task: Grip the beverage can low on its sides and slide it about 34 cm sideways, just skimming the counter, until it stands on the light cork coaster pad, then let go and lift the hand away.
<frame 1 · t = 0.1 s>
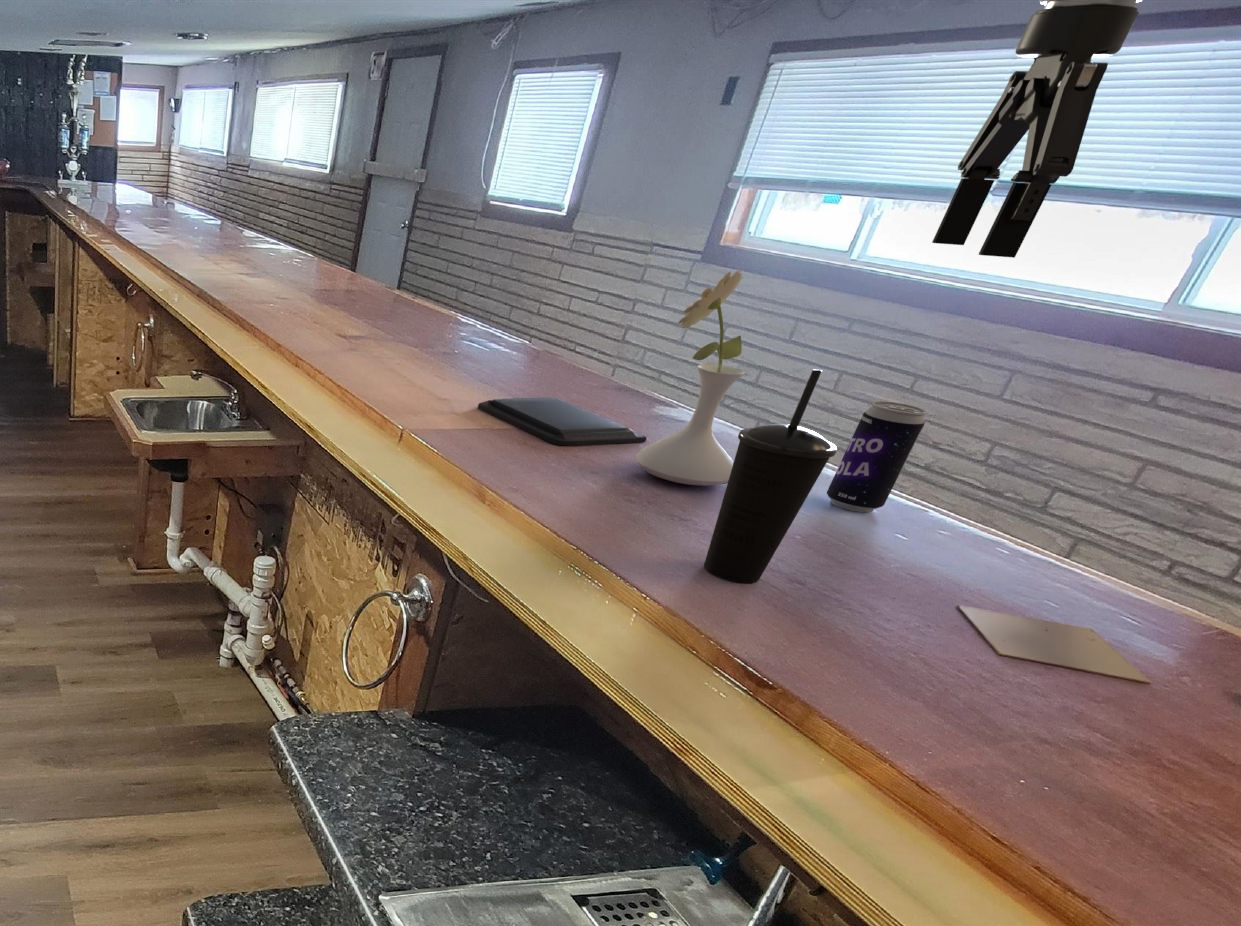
hand: (970, 250, 94), 28 cm above the counter, tool pointing down, fingers open, 13 cm apart
beverage can: (850, 507, 107), on the counter
drinking cup: (730, 574, 89), on the counter
cork pad: (1046, 642, 78), on the counter
flower in vase: (674, 480, 113), on the counter
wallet: (556, 425, 133), on the counter
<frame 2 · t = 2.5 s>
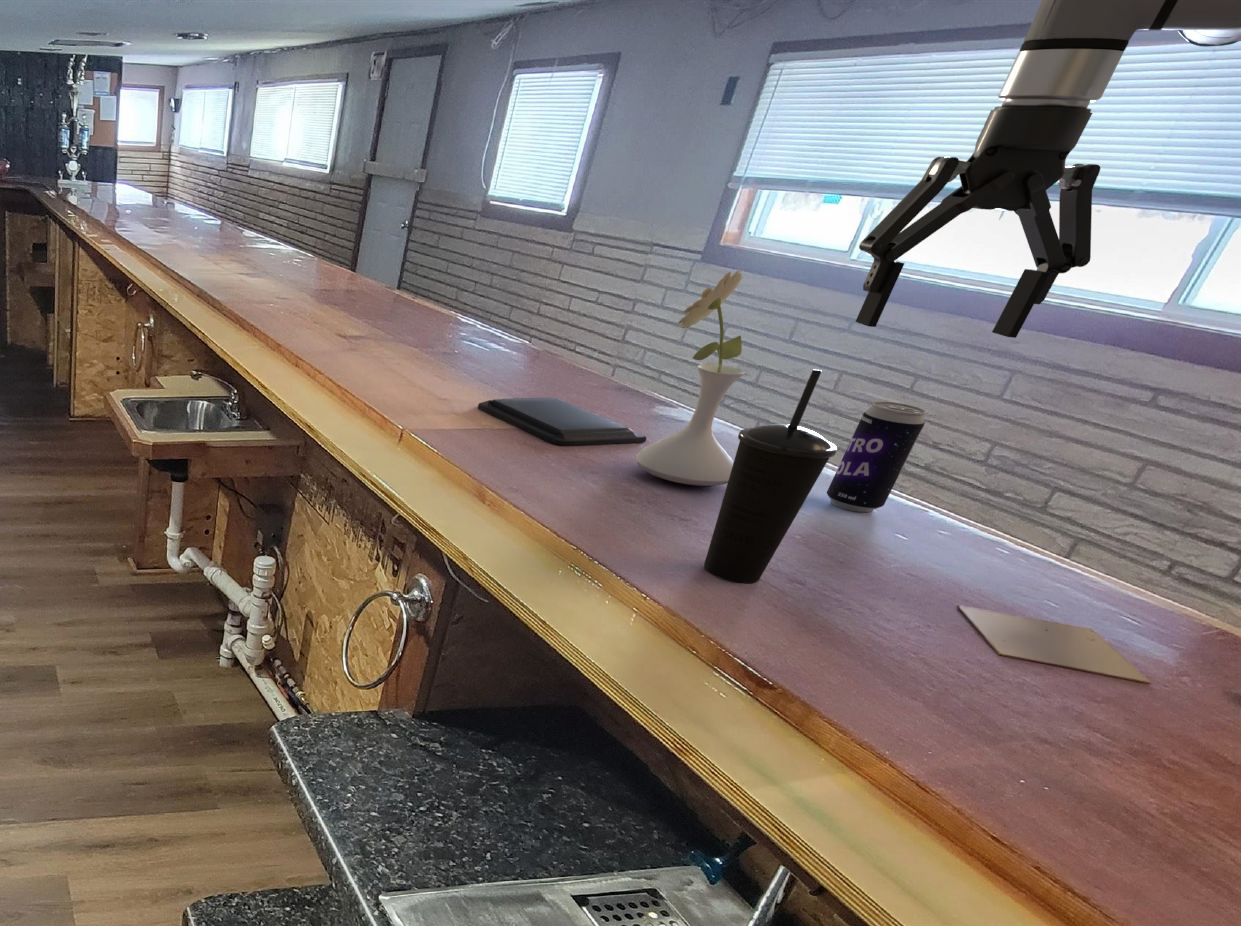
hand: (933, 330, 97), 20 cm above the counter, tool pointing down, fingers open, 13 cm apart
nothing on the counter moved.
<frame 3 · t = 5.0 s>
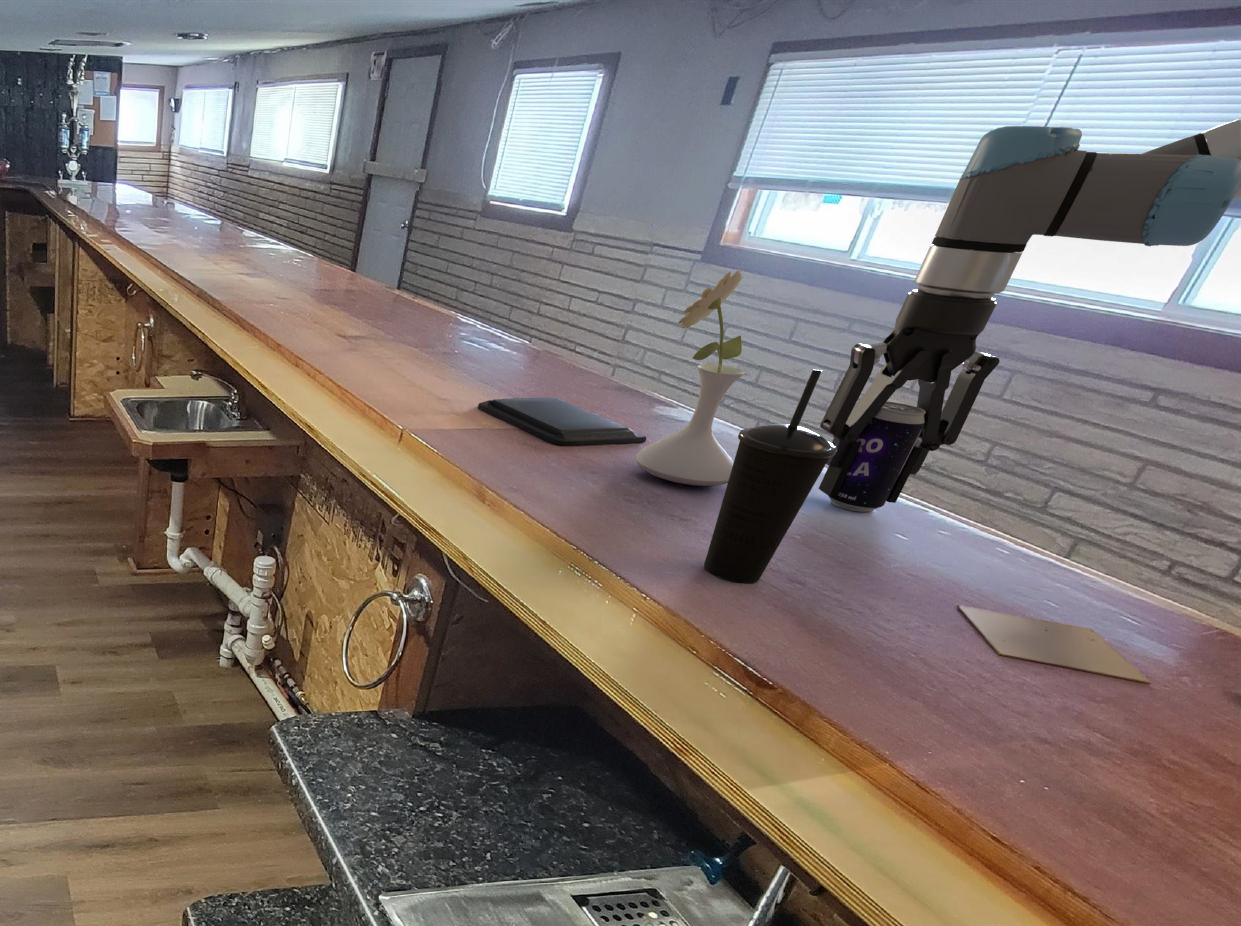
hand: (856, 495, 106), 1 cm above the counter, tool pointing down, fingers closed on beverage can, 6 cm apart
beverage can: (850, 507, 107), on the counter, touching gripper
everything else where it was.
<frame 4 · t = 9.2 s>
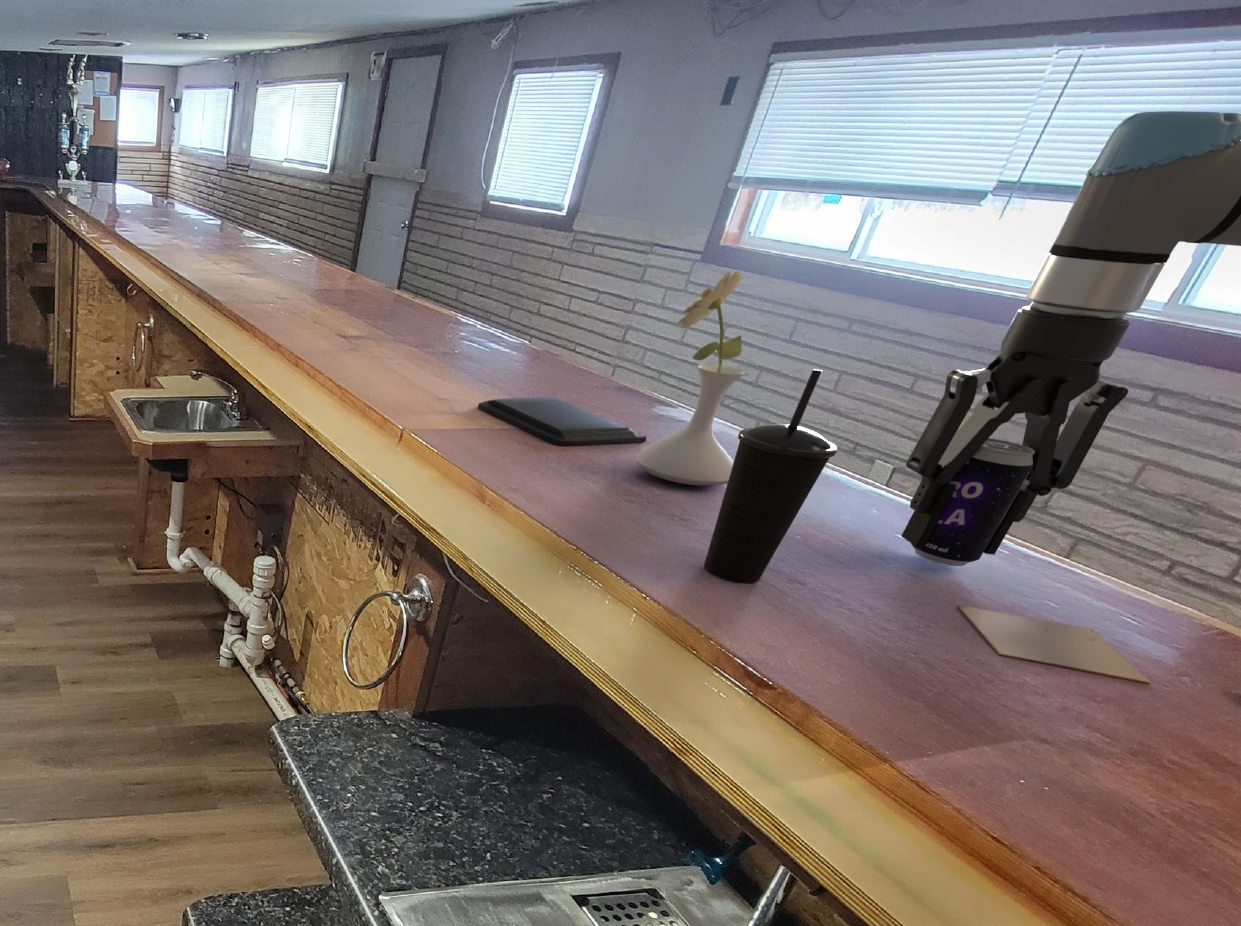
hand: (947, 544, 91), 2 cm above the counter, tool pointing down, fingers closed on beverage can, 6 cm apart
beverage can: (939, 559, 92), point 1 cm above the counter, touching gripper
everything else where it was.
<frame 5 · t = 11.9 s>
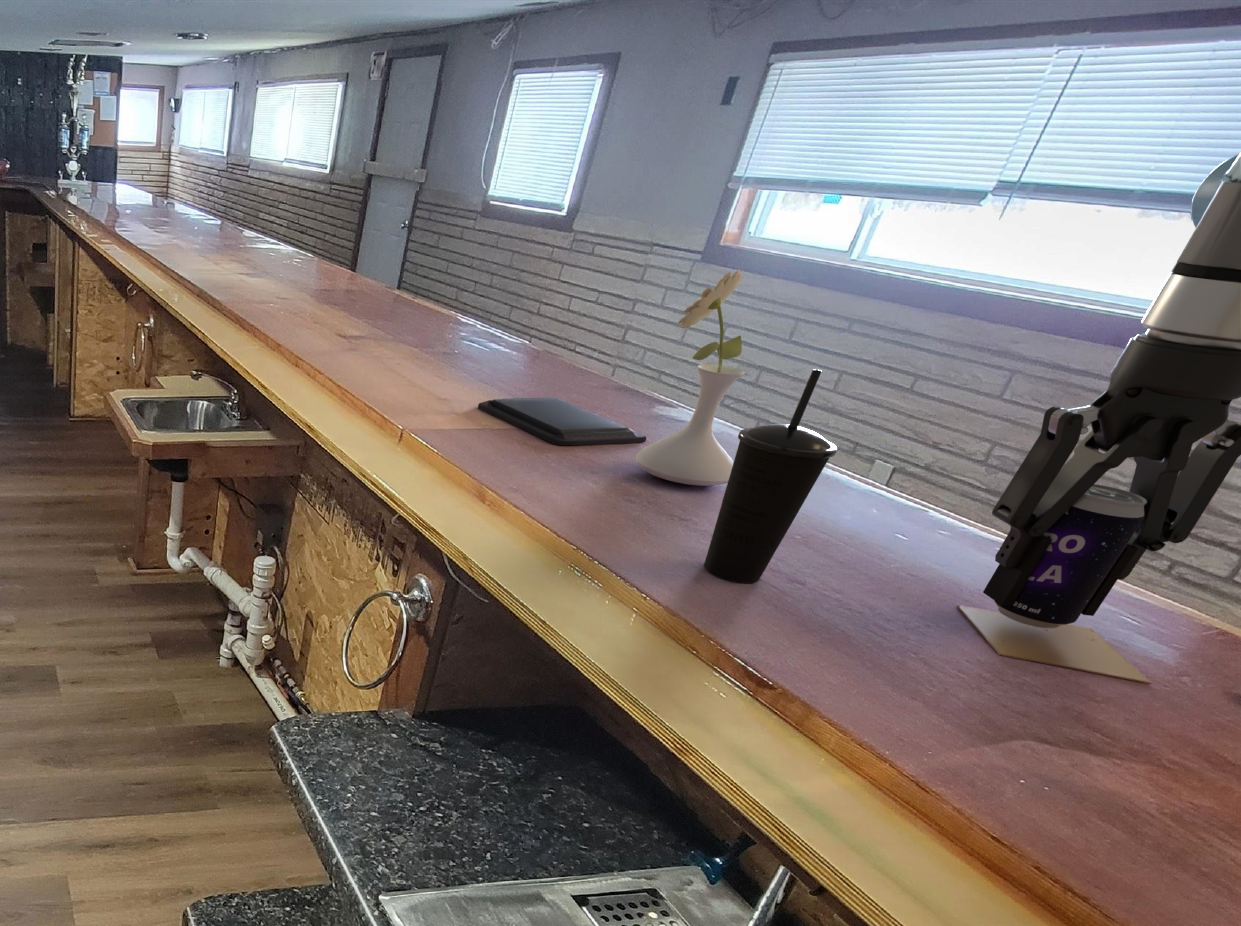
hand: (1037, 603, 80), 2 cm above the counter, tool pointing down, fingers closed on beverage can, 6 cm apart
beverage can: (1027, 619, 81), point 1 cm above the counter, touching gripper
everything else where it was.
when the fingers open (2 cm above the counter, at t = 13.7 s): beverage can stays where it is, resting on cork pad.
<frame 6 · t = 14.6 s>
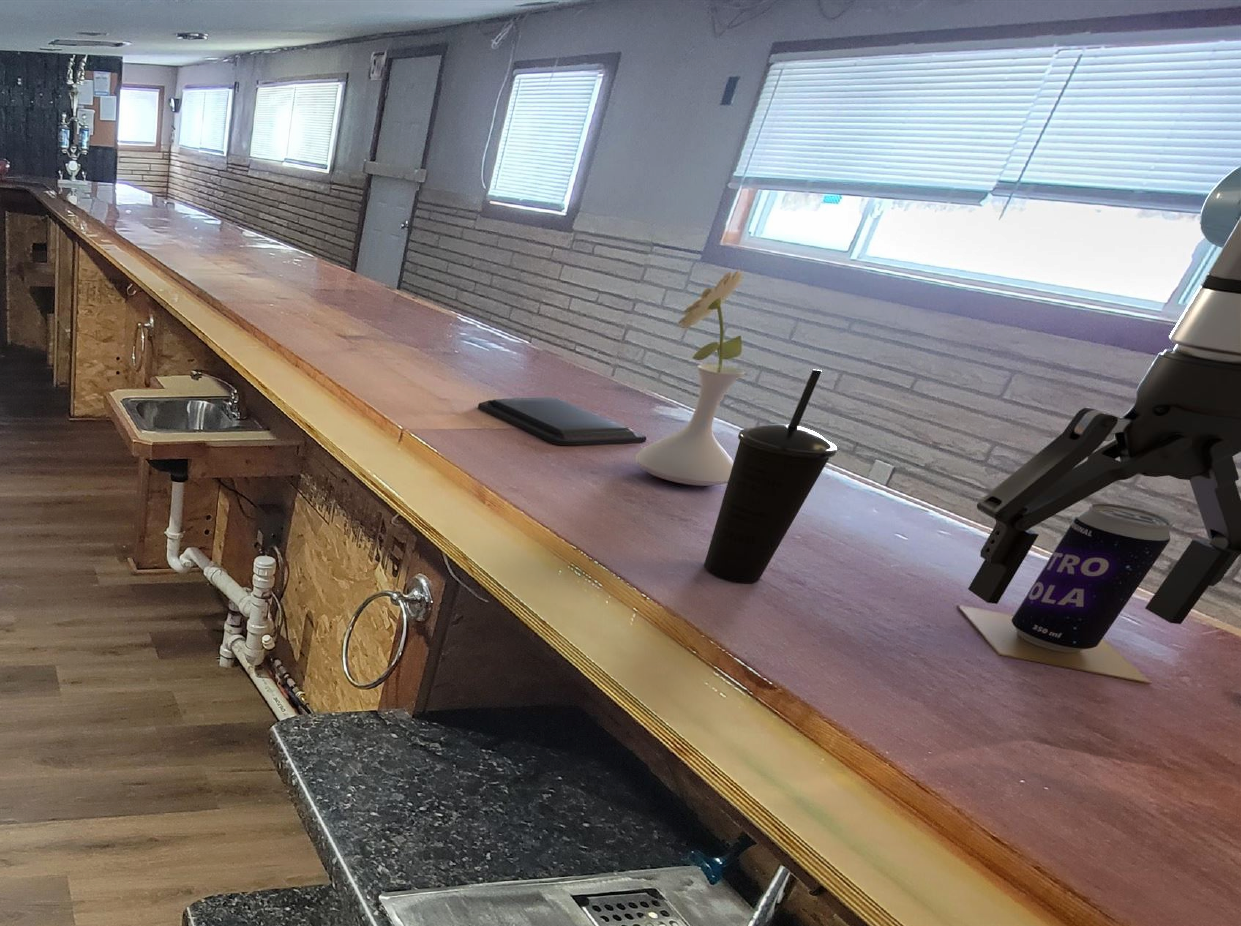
hand: (1070, 606, 76), 4 cm above the counter, tool pointing down, fingers open, 13 cm apart
beverage can: (1046, 642, 78), resting on cork pad
everything else where it was.
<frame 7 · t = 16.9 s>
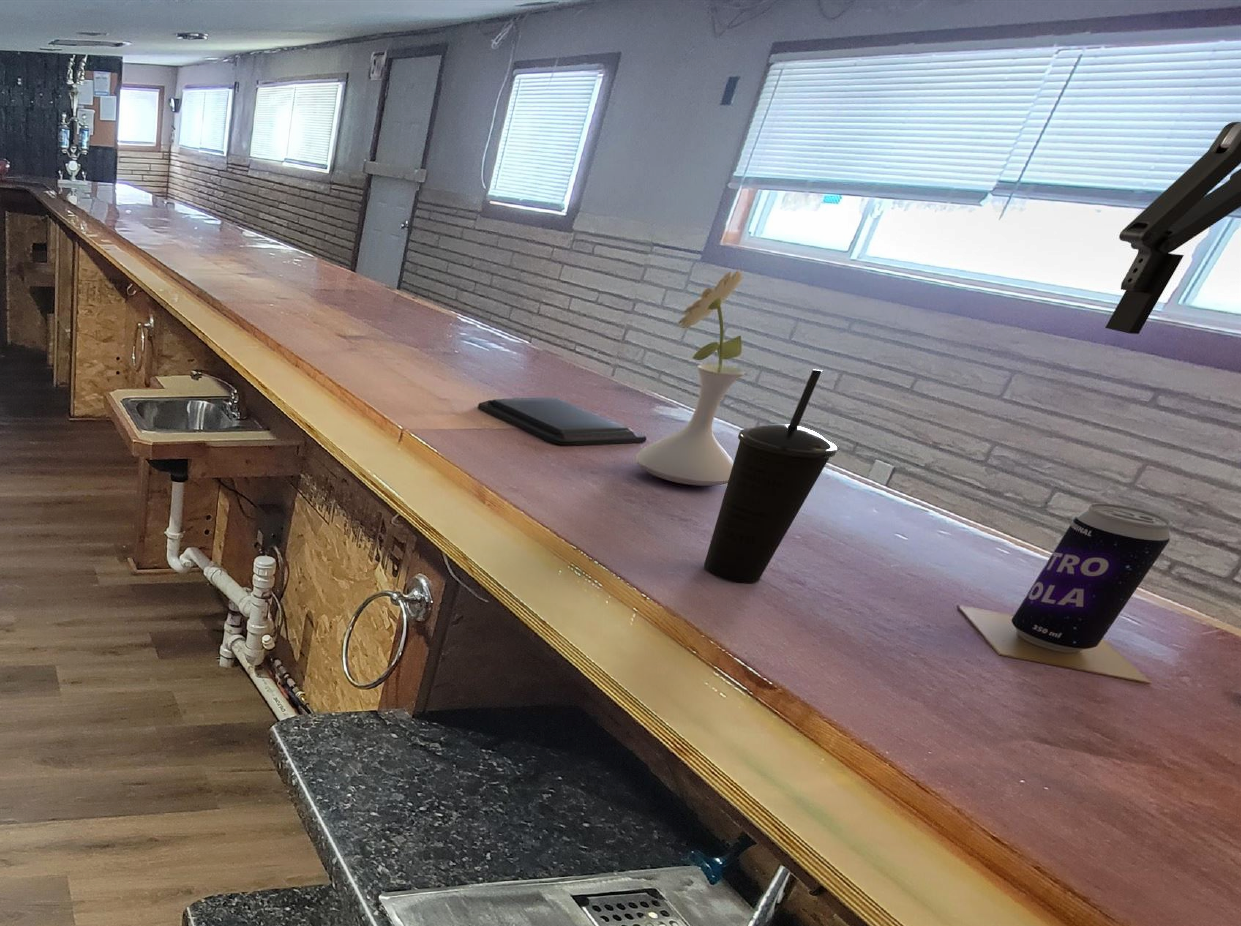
hand: (1207, 336, 79), 24 cm above the counter, tool pointing down, fingers open, 13 cm apart
nothing on the counter moved.
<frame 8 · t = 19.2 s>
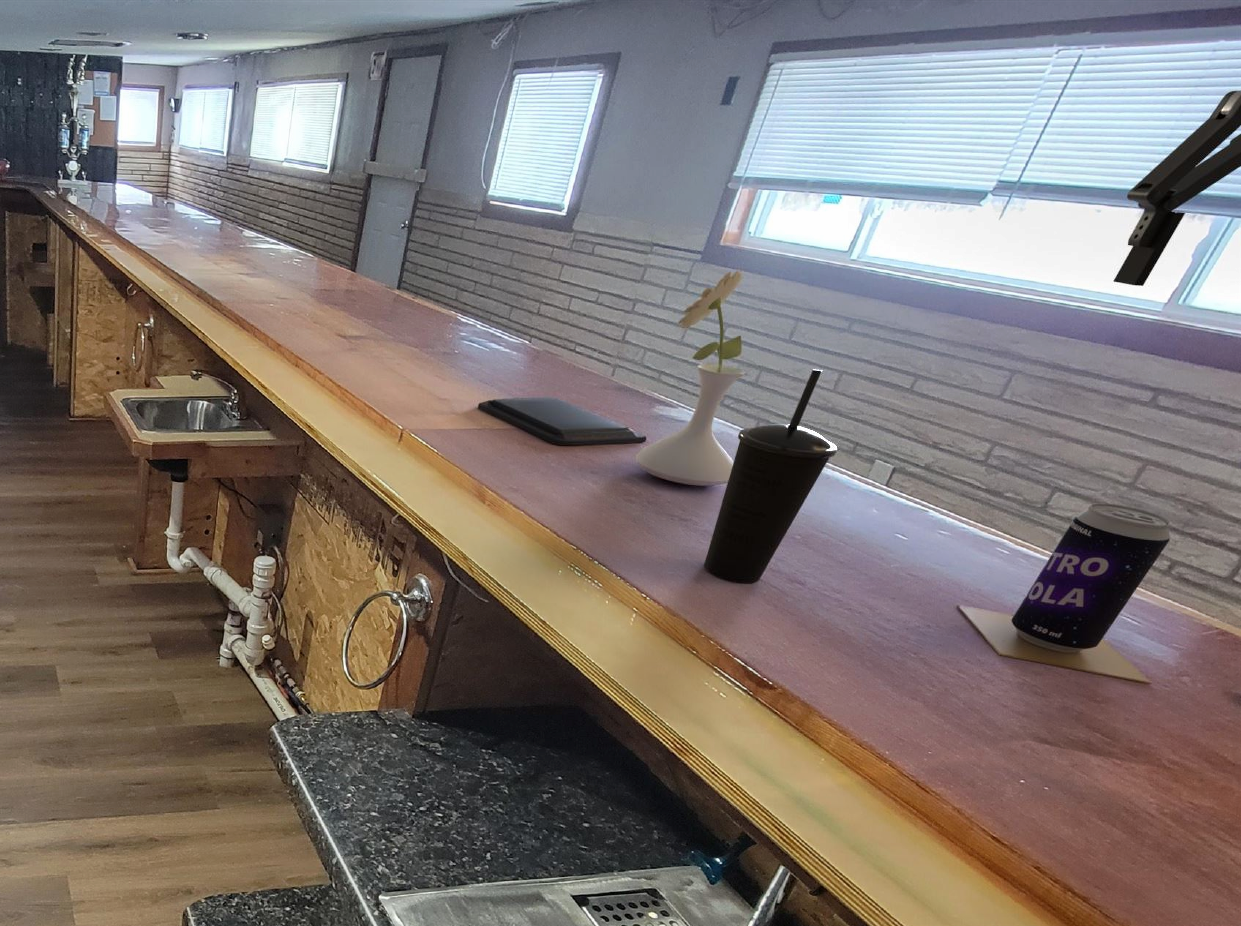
hand: (1207, 289, 87), 27 cm above the counter, tool pointing down, fingers open, 13 cm apart
nothing on the counter moved.
at the end: beverage can inside the target area on the cork pad (0.0 cm from its centre), point 0.0 cm above the cork pad's base; beverage can tilted 0°; beverage can moved 33.7 cm from its start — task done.
